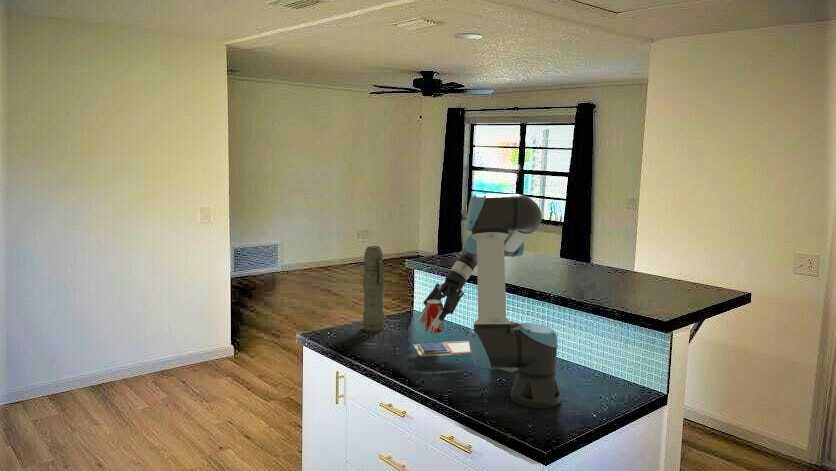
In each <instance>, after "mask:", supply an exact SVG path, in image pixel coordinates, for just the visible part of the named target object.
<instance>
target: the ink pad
mask: <svg viewBox="0 0 836 471" xmlns="http://www.w3.org/2000/svg"><path fill="white" fill-rule="evenodd" d="M417 344H418V347H419V348H420V350H421V352H422V353H423V355H424V354H440V353H450V351H449V350H448V348H447V347H446V346H445V344H444V343H443V342H442V341H441V342H425V343H417Z"/></svg>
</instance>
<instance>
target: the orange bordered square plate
mask: <svg viewBox="0 0 836 471" xmlns="http://www.w3.org/2000/svg"><path fill="white" fill-rule="evenodd" d="M442 343H444V344H445V346H446V347H447V348H448V350H449V351H450V352H451V354H457V355H464V354H463V353H471V351H470V345H469V340H458V341H456V340H455V341H443V342H442Z"/></svg>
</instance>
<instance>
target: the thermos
mask: <svg viewBox="0 0 836 471" xmlns="http://www.w3.org/2000/svg"><path fill="white" fill-rule="evenodd" d="M383 255H384V254H383V251H382V248H381V247H380V246H378V245H377V246H376V245H370V246H367V247H366V248H365V251H364V256H363V257H364V258H363V261H364V267H363V268H364V271H363V275H362V287H363V288H362V289H363V291H364V292H363V293H364V294H363V295H364V296H363V297H364V298H363V299H364V300H363V302H364V308H363V309H364V310H363V312H362V314H363V315H362V323H363V330H364V331H366V332H372V333H376V332H381V331H384V329H385V311H384V289H385V274H384V261H383V259H384V256H383Z"/></svg>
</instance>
